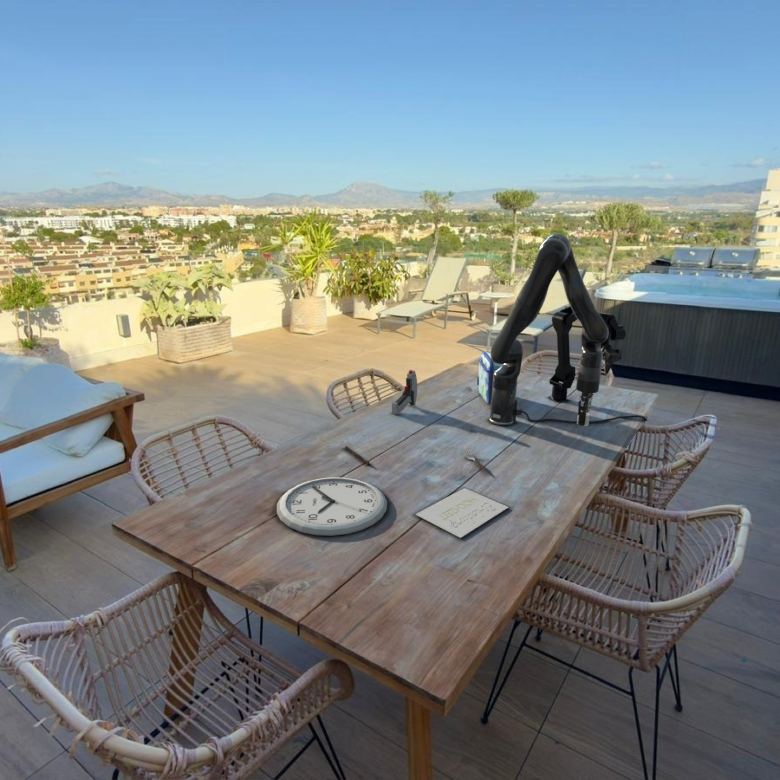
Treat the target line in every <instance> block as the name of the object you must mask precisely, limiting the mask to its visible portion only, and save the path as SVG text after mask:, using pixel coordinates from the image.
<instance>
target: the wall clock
mask: <svg viewBox="0 0 780 780" xmlns="http://www.w3.org/2000/svg"><path fill="white" fill-rule="evenodd" d="M387 509H388V500H387V498H386V496H385V494H384V493H383V492H382V491H381V490H380V489H379V488H377V487H376V486H374V485H372V484H371V483H369V482H365V481H362V480H359V479H355V478H349V477H338V476H337V477H335V476H333V477H332V476H331V477H322V478H317V479H312V480H307V481H305V482H302V483H299V484H297V485H295V486H293V487H292V488H290V489H288V490H287V491H286V492H285V493H284V494H283V495H281V496H280V498H279V499H278V502H277V503H276V515H277V517H278V518H279V520H280V521H281V522H282V523H283V524H285V525H286V526H287V527H288V528H290V529H293V530H295V531H297V532H299V533H303V534H308V535H312V536H327V537H328V536H329V537H331V536H332V537H333V536H342V535H350V534H352V533H356V532H361V531H363V530H366V529H368V528H369V527H372V526H373V525H375V524H376V523H378V522H379V521H380V520H381V519H382V518H383V517H384V516H385V514H386V512H387Z"/></svg>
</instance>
